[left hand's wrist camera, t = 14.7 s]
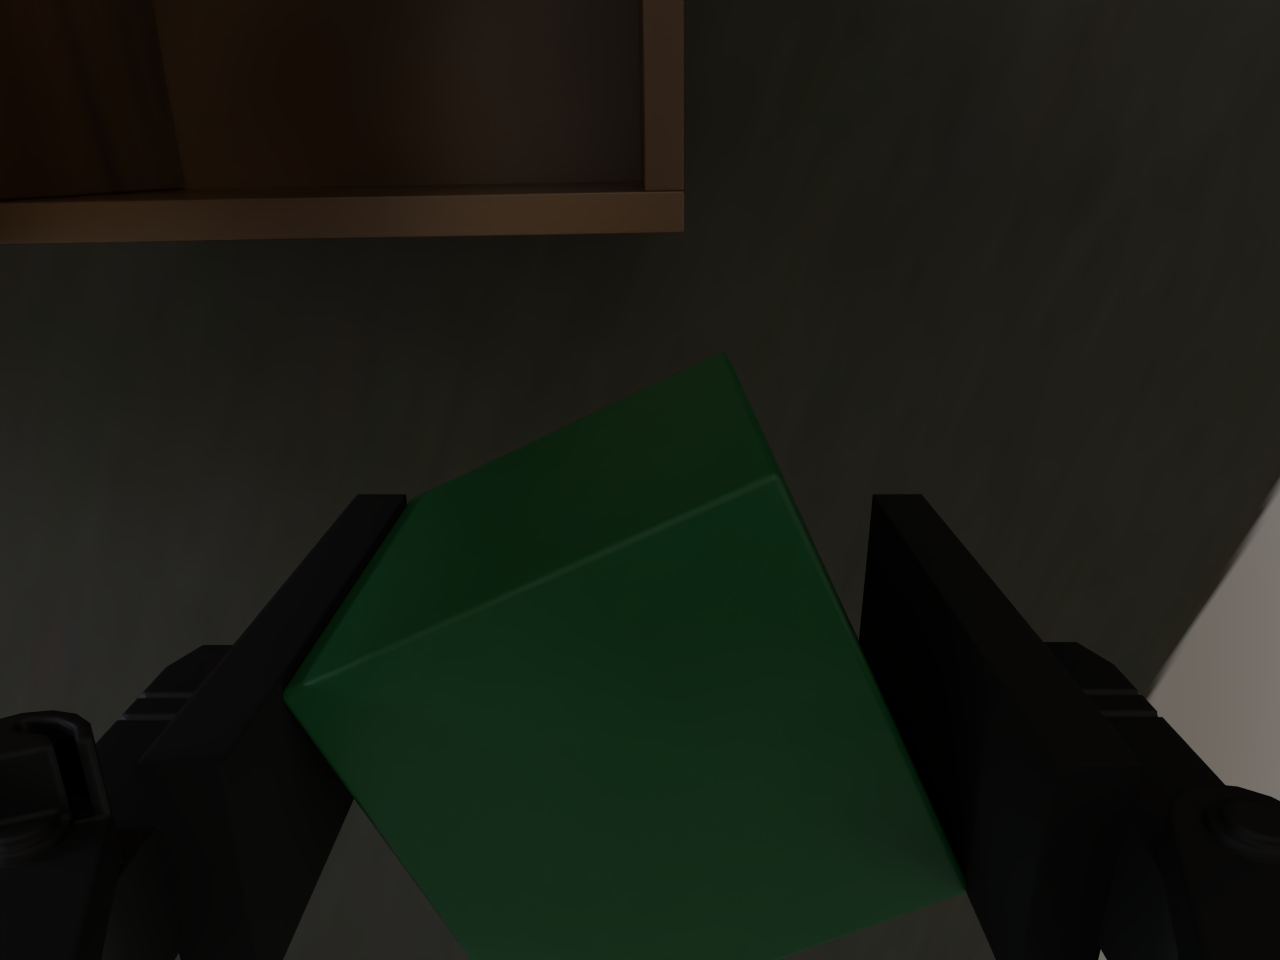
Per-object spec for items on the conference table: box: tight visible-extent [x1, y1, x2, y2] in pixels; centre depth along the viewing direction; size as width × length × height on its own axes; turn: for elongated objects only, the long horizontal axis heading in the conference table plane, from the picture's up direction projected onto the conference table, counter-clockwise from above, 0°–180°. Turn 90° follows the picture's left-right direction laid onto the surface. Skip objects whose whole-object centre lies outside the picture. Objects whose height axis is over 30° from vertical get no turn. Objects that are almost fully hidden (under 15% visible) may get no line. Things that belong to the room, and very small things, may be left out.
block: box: [282, 353, 967, 960], centre depth 12 cm, size 6×6×6 cm
